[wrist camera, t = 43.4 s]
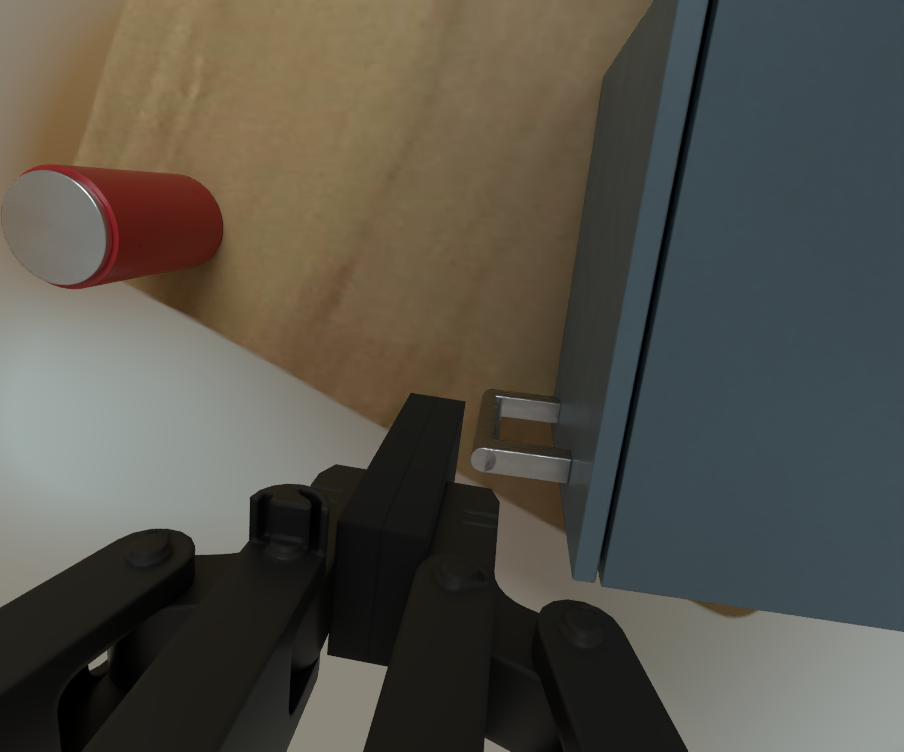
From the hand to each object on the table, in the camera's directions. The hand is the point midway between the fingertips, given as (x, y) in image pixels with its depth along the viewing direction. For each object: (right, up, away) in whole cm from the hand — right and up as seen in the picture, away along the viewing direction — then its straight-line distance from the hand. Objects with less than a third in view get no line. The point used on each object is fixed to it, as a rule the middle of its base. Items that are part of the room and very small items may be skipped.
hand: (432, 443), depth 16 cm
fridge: (+18, +9, +24) cm, 31 cm away
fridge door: (+7, +10, +24) cm, 27 cm away
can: (-19, +13, +27) cm, 36 cm away
